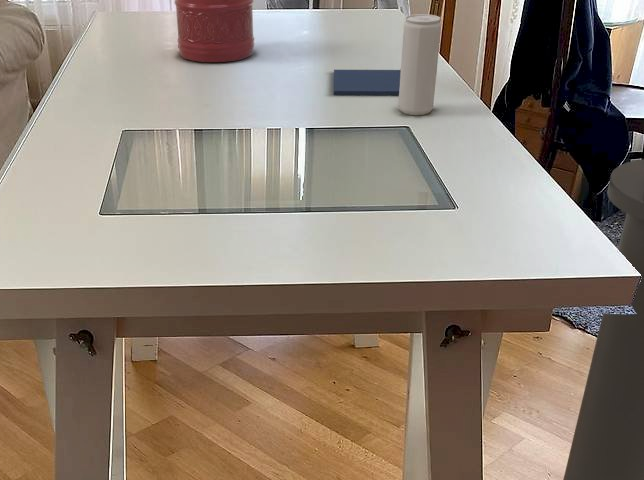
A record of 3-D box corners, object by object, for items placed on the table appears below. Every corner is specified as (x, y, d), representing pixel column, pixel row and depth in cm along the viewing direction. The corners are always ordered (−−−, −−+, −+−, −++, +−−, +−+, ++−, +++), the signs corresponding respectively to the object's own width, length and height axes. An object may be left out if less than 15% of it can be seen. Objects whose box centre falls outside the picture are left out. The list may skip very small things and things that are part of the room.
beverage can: (412, 103, 119) (419, 12, 112) (440, 110, 116) (449, 17, 109) (390, 111, 116) (396, 17, 109) (418, 118, 113) (426, 23, 106)
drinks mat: (410, 73, 132) (410, 69, 132) (416, 95, 122) (416, 91, 122) (333, 73, 132) (333, 69, 132) (333, 94, 123) (333, 90, 122)
